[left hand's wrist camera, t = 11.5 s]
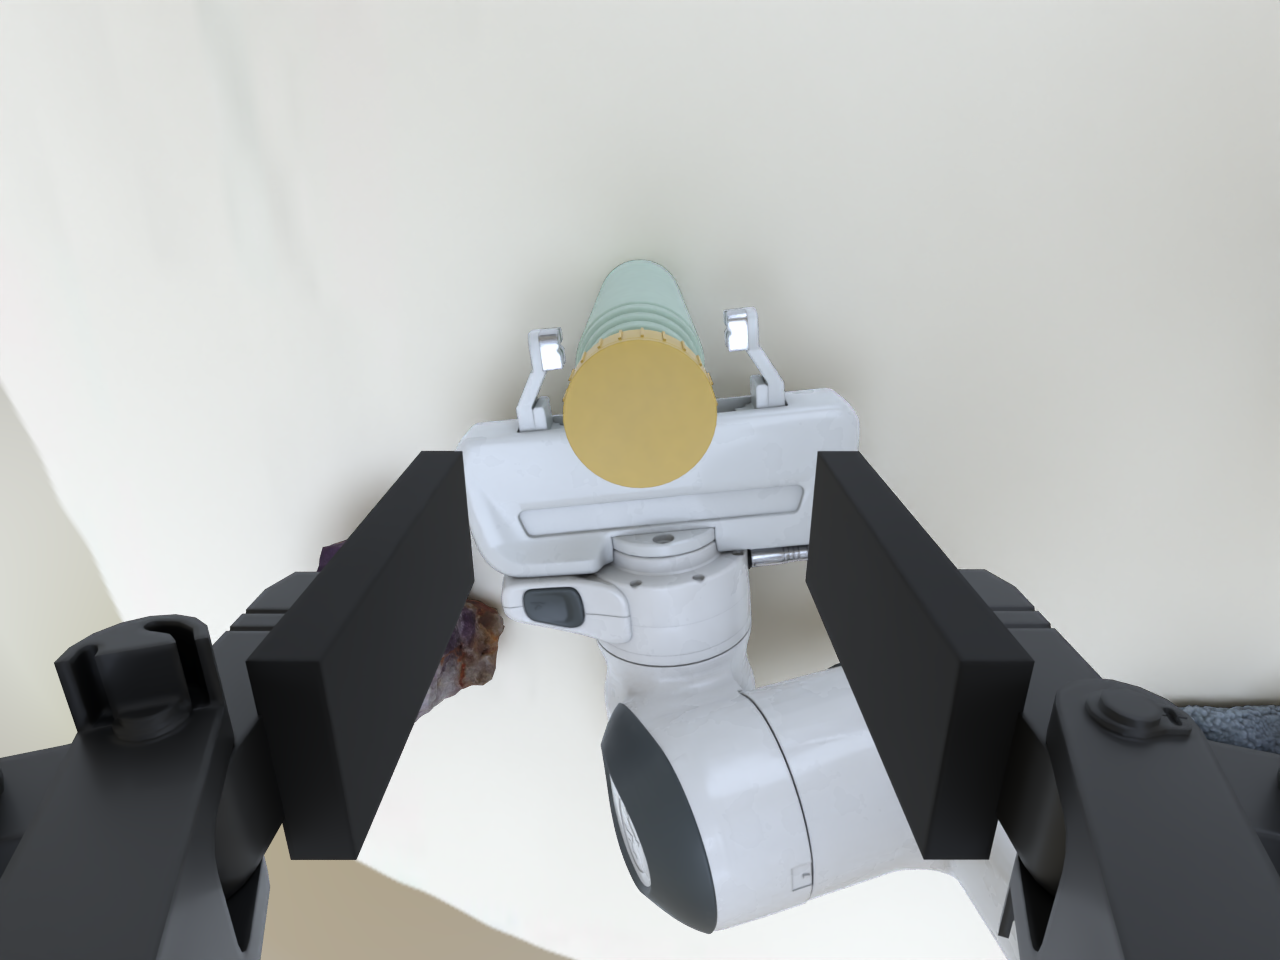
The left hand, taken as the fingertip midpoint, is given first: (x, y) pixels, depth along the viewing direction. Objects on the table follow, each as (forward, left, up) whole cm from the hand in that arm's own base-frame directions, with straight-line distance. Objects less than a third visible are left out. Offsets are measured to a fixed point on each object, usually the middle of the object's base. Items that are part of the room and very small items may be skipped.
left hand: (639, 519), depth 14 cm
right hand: (0, 0, -23) cm, 23 cm away
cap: (0, 0, -7) cm, 7 cm away
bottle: (0, 0, -29) cm, 29 cm away
